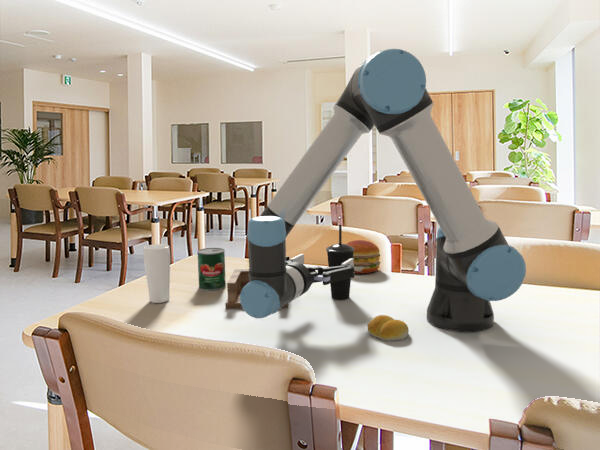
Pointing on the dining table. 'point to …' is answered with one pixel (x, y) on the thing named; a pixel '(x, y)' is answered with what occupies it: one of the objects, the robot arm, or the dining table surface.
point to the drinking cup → (336, 258)
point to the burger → (365, 256)
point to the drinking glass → (157, 272)
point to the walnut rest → (237, 288)
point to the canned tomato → (211, 269)
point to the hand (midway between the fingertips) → (326, 261)
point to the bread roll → (387, 328)
